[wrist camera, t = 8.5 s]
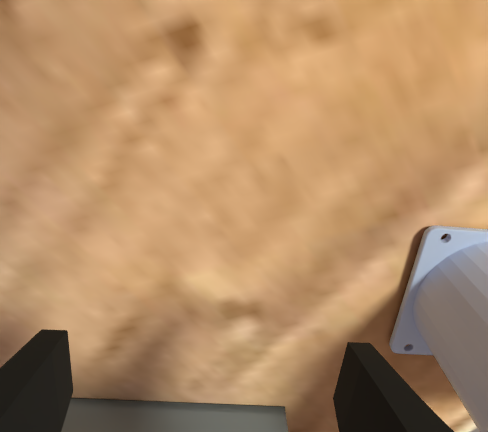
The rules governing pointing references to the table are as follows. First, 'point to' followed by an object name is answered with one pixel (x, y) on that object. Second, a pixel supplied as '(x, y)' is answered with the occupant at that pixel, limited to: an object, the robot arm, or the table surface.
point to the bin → (170, 417)
